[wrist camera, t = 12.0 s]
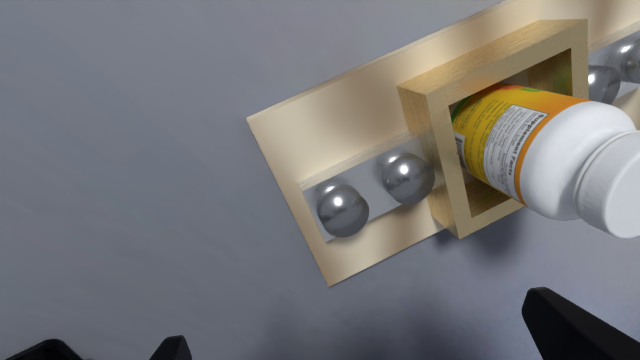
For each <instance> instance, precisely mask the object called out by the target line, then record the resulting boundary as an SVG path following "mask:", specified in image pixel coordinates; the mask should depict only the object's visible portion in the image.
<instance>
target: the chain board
mask: <svg viewBox="0 0 640 360" xmlns="http://www.w3.org/2000/svg"><path fill="white" fill-rule="evenodd" d="M557 19H588V44H590V43H592V42H594V41H596V40H598V39H600V38H602V37H605V36H607V35H609V34H611V33H613V32H615V31H617V30H619V29H621V28H624V27H626V26H628V25H630V24H632V23H634V22H636V21H638V20H640V0H505V1H503V2H501V3H499V4H497V5H494V6H492V7H490V8H488V9H486V10H483V11H481V12H479V13H477V14H475V15H472V16H470V17H468V18H466V19H464V20H461V21H459V22H457V23H455V24H452V25H450V26H448V27H446V28H444V29H441V30H439V31H437V32H435V33H433V34H430V35H428V36H426V37H424V38H422V39H419V40H417V41H415V42H413V43H410V44H408V45H406V46H404V47H402V48H399V49H397V50H395V51H393V52H391V53H388V54H386V55H384V56H382V57H380V58H377V59H375V60H373V61H371V62H369V63H366V64H364V65H362V66H360V67H357V68H355V69H353V70H351V71H349V72H346V73H344V74H342V75H340V76H338V77H335V78H333V79H331V80H329V81H327V82H324V83H322V84H320V85H318V86H316V87H313V88H311V89H309V90H307V91H304V92H302V93H300V94H298V95H296V96H293V97H291V98H289V99H287V100H285V101H282V102H280V103H278V104H276V105H274V106H271V107H269V108H267V109H265V110H262V111H260V112H258V113H256V114H254V115H251V116H249V117H247V118H246V119H247V122H248V124H249V126H250V128H251V130H252V132H253V134H254V136H255V138H256V140H257V142H258V144H259V146H260V148H261V150H262V152H263V155H264V157H265V159H266V161H267V163H268V165H269V167H270V169H271V171H272V173H273V175H274V177H275V179H276V181H277V183H278V185H279V187H280V189H281V191H282V193H283V195H284V197H285V199H286V201H287V203H288V205H289V207H290V209H291V211H292V213H293V215H294V217H295V219H296V222H297V224H298V226H299V228H300V230H301V232H302V234H303V236H304V238H305V240H306V242H307V244H308V246H309V248H310V250H311V252H312V254H313V256H314V258H315V260H316V262H317V264H318V266H319V268H320V270H321V272H322V274H323V276H324V278H325V280H326V282H327V284H328V286H329V287H330V286H332V285H334V284H336V283H338V282H340V281H342V280H344V279H346V278H348V277H350V276H352V275H354V274H356V273H358V272H360V271H362V270H364V269H366V268H368V267H370V266H372V265H374V264H376V263H377V262H379V261H381V260H383V259H385V258H387V257H389V256H391V255H393V254H395V253H397V252H399V251H401V250H403V249H405V248H407V247H409V246H411V245H413V244H415V243H417V242H419V241H421V240H423V239H425V238H427V237H429V236H431V235H433V234H435V233H437V232H439V231H441V230H443V229H445V227H444V226H443V225H442V224H441V223H440V222H438V221H437V220H436V219H435V218H434V217H433V216H432V215H431V212H430V208H429V205H428V201H427V197H426V198H425V199H423V200H422V201H420V202H418V203H416V204H413V205H404V204H402V205H400V206H398V207H396V208H394V209H392V210H390V211H388V212H386V213H384V214H382V215H380V216H377V217H375V218H373V219H371V220H369V221H367V222H366V224H365V225H364V227H363V228H362V229H361V230H360V231H359V232H357V233H356V234H354V235H352V236H349V237H343V238H340V237H335V238H333V239H331V240H329V241H327V242H325V240H324V238H323V236H322V234H321V232H320V230H319V228H318V226H317V224H316V222H315V219H314V217H313V215H312V213H311V211H310V209H309V206H308V204H307V202H306V200H305V198H304V196H303V193H302V191H301V189H300V187H299V185H298V183H297V182H300V181H302V180H304V179H306V178H308V177H310V176H312V175H314V174H316V173H318V172H321V171H323V170H325V169H327V168H329V167H331V166H333V165H335V164H337V163H340V162H342V161H344V160H346V159H348V158H350V157H352V156H354V155H356V154H358V153H361V152H363V151H365V150H367V149H369V148H371V147H373V146H375V145H377V144H379V143H382V142H384V141H386V140H388V139H390V138H392V137H394V136H396V135H398V134H401V133H403V132H405V131H407V130H408V127H407V123H406V119H405V116H404V112H403V108H402V105H401V101H400V97H399V94H398V90H397V86H396V85H398V84H401V83H403V82H405V81H407V80H409V79H411V78H414V77H416V76H418V75H420V74H422V73H424V72H427V71H429V70H431V69H433V68H435V67H437V66H439V65H442V64H444V63H446V62H448V61H450V60H452V59H455V58H457V57H459V56H461V55H463V54H465V53H468V52H470V51H472V50H474V49H476V48H478V47H481V46H483V45H485V44H487V43H489V42H491V41H494V40H496V39H498V38H500V37H502V36H504V35H507V34H509V33H511V32H513V31H515V30H517V29H520V28H522V27H524V26H526V25H528V24H530V23H533V22H535V21H537V20H557ZM499 82H503V83H508V84H513V85H518V86H523V87H528V88H529V84H528V74H527V69H525V70H523V71H520V72H518V73H516V74H514V75H512V76H510V77H508V78H506V79H504V80H501V81H499ZM611 105H612V106H614V107H617V108H618V109H620V110H622V111H623V112H624V113H626V114H627V115H628V116H629V117H630V119H631V120H632V122H633V123H634V126H635V128H636V130H640V87H638V88H636V89H634V90H632V91H630V92H628V93H626V94H624V95H622V96H620V97H618V98H616V99H615V100H614V101H613V102H612V104H611ZM451 106H452V104H451V105H449V106H448V107H449V109H450V107H451ZM461 170H462V169H461ZM462 175H463V180H464V184H465V185H466V184H468V183H470V182H472V181H474V180H476V179H478V178H476V177H474V176H473V175H471V174H469V173H467V172H466V171H464V170H462Z"/></svg>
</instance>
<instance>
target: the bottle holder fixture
mask: <svg viewBox="0 0 640 360" xmlns="http://www.w3.org/2000/svg"><path fill="white" fill-rule="evenodd" d="M525 69H527V74H528V84H529V88H533V89H538V90H543V91H548V92H553V93H557V94H562V95H567V96H572V97H577V98H582V99H586V100H591V101H596V102H601V103H604V104H608V105H611V104H612V102H613V101H614V100H615V99H616V98H618V97H620V96H622V95H624V94H626V93H628V92H630V91H632V90H634V89H636V88H638V87H640V20H638V21H636V22H634V23H632V24H630V25H628V26H626V27H624V28H621V29H619V30H617V31H615V32H613V33H611V34H609V35H607V36H605V37H602V38H600V39H598V40H596V41H594V42H592V43H590V44H588V19H557V20H537V21H535V22H533V23H530V24H528V25H526V26H524V27H522V28H520V29H517V30H515V31H513V32H511V33H509V34H507V35H504V36H502V37H500V38H498V39H496V40H494V41H491V42H489V43H487V44H485V45H483V46H481V47H478V48H476V49H474V50H472V51H470V52H468V53H465V54H463V55H461V56H459V57H457V58H455V59H452V60H450V61H448V62H446V63H444V64H442V65H439V66H437V67H435V68H433V69H431V70H429V71H427V72H424V73H422V74H420V75H418V76H416V77H414V78H411V79H409V80H407V81H405V82H403V83H401V84H398V85H396V86H397V90H398V94H399V97H400V101H401V105H402V108H403V112H404V116H405V119H406V123H407V127H408V130H407V131H405V132H403V133H401V134H398V135H396V136H394V137H392V138H390V139H388V140H386V141H384V142H382V143H379V144H377V145H375V146H373V147H371V148H369V149H367V150H365V151H363V152H361V153H358V154H356V155H354V156H352V157H350V158H348V159H346V160H344V161H342V162H340V163H337V164H335V165H333V166H331V167H329V168H327V169H325V170H323V171H321V172H318V173H316V174H314V175H312V176H310V177H308V178H306V179H304V180H302V181H300V182H297V183H298V185H299V187H300V189H301V191H302V193H303V196H304V198H305V200H306V202H307V204H308V206H309V209H310V211H311V213H312V215H313V217H314V219H315V222H316V224H317V226H318V228H319V230H320V232H321V234H322V236H323V238H324V240H325V242H327V241H329V240H331V239H333V238H335V237H340V238H343V237H349V236H352V235H354V234H356V233H357V232H359V231H360V230H361V229H362V228H363V227H364V225H365V224H366V222H367V221H369V220H371V219H373V218H375V217H377V216H380V215H382V214H384V213H386V212H388V211H390V210H392V209H394V208H396V207H398V206H400V205H402V204H404V205H413V204H416V203H418V202H420V201H422V200H423V199H425V198H426V197H427V201H428V205H429V208H430V212H431V215H432V216H433V217H434V218H435V219H436V220H437V221H438V222H440V223H441V224H442V225H443V226H444V227H445V228H447V229H448V230H449V231H450V232H451V233H452V234H454V235H455V236H456V237H457V238H458V239H461V238H463V237H465V236H467V235H469V234H471V233H473V232H475V231H477V230H479V229H481V228H483V227H485V226H487V225H489V224H491V223H493V222H495V221H497V220H499V219H501V218H502V217H504V216H506V215H508V214H510V213H512V212H514V211H516V210H518V209H520V208H522V207H524V205H523V204H521V203H519V202H518V201H516V200H514V199H512V198H511V197H509V196H507V195H506V194H504V193H502V192H500V191H499V190H497V189H495V188H493V187H492V186H490V185H488V184H487V183H485V182H483V181H481V180H480V179H476V180H474V181H472V182H470V183H468V184H466V185H465V184H464V180H463V175H462V170H461V165H460V160H459V155H458V151H457V146H456V141H455V136H454V131H453V126H452V122H451V117H450V112H449V107H448V106H449V105H451V104H453V103H455V102H457V101H459V100H461V99H463V98H466V97H468V96H470V95H472V94H474V93H476V92H478V91H480V90H482V89H485V88H487V87H489V86H491V85H493V84H495V83H497V82H499V81H501V80H504V79H506V78H508V77H510V76H512V75H514V74H516V73H518V72H520V71H523V70H525Z"/></svg>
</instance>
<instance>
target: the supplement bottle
mask: <svg viewBox="0 0 640 360" xmlns="http://www.w3.org/2000/svg"><path fill="white" fill-rule="evenodd" d="M449 112H450V117H451V122H452V126H453V131H454V136H455V141H456V146H457V151H458V155H459V160H460V165H461V169H462V170H464V171H466V172H467V173H469V174H471V175H473V176H474V177H476V178H478V179H480V180H481V181H483V182H485V183H487V184H488V185H490V186H492V187H493V188H495V189H497V190H499V191H500V192H502V193H504V194H506V195H507V196H509V197H511V198H512V199H514V200H516V201H518V202H519V203H521V204H523V205H524V206H526V207H528V208H529V209H531V210H533V211H535V212H537V213H538V214H540V215H542V216H545V217H547V218H550V219H554V220H562V221H567V220H575V219H580V218H582V219H583V220H584V221H585V222H587V223H588V224H589V225H592V226H594V227H596V228H598V229H600V230H602V231H604V232H606V233H608V234H610V235H612V236H615V237H618V238H624V239H625V238H633V237H637V236H640V131H639V130H636V128H635V126H634V123H633V122H632V120H631V119H630V117H629V116H628V115H627V114H626V113H624V112H623V111H622V110H620V109H618V108H617V107H614V106H612V105H608V104H604V103H601V102H596V101H591V100H586V99H582V98H577V97H572V96H567V95H562V94H557V93H553V92H548V91H543V90H538V89H533V88H528V87H523V86H518V85H513V84H508V83H503V82H497V83H495V84H493V85H491V86H489V87H487V88H485V89H482V90H480V91H478V92H476V93H474V94H472V95H470V96H468V97H466V98H463V99H461V100H459V101H457V102H455V103H453V104H452V106H451V107H450V109H449Z"/></svg>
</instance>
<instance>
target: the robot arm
mask: <svg viewBox="0 0 640 360" xmlns="http://www.w3.org/2000/svg"><path fill="white" fill-rule="evenodd" d="M522 316H523V319H524V321H525V323H526V325H527V327H528V329H529V331H530V333H531V335H532V338H533V340H534V342H535V344H536V346H537V348H538V350H539V352H540V354H541V356H542V358H543V360H640V342H638V341H636V340H635V339H633V338H631V337H629V336H628V335H626V334H624V333H623V332H621V331H619V330H618V329H616V328H614V327H613V326H611V325H609V324H608V323H606V322H604V321H603V320H601V319H599V318H598V317H596V316H594V315H592V314H591V313H589V312H587V311H586V310H584V309H582V308H581V307H579V306H577V305H576V304H574V303H572V302H571V301H569V300H567V299H566V298H564V297H562V296H561V295H559V294H557V293H555V292H554V291H552V290H550V289H549V288H546V287H537V288H531V289H529V290H528V292H527V295H526V297H525V300H524V303H523V306H522ZM47 348H50V349H47ZM6 360H78V359H77V358H76V357H75V356H74V355H73V354H71V353H70V352H69V351H68V350H67V349H66V348H65V347H64V346H63V345H62V344H61V343H59V342H58V341H56V340H53V339H49V340H45V341H43V342H41V343H39V344H37V345H35V346H33V347H30V348H28V349H26V350H24V351H22V352H20V353H18V354H16V355H14V356H12V357H10V358H8V359H6ZM149 360H192V356H191V353H190V350H189V347H188V345H187V342H186V339H185V337H184V336H182V335H179V336H171V337H167V338H166V339H164V341H163V342H162V343H161V344H160V346H159V347H158V348H157V350H156V351H155V352H154V354H153V355H152V356H151V358H150V359H149Z"/></svg>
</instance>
